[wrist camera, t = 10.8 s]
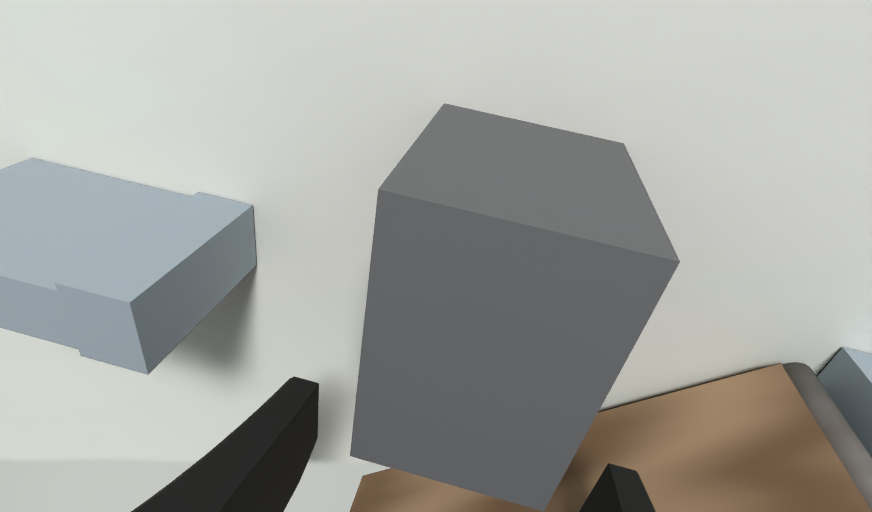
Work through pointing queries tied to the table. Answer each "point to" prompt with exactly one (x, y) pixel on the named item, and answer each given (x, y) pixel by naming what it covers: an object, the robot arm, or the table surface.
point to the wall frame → (172, 271)
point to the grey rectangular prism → (502, 301)
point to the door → (692, 454)
